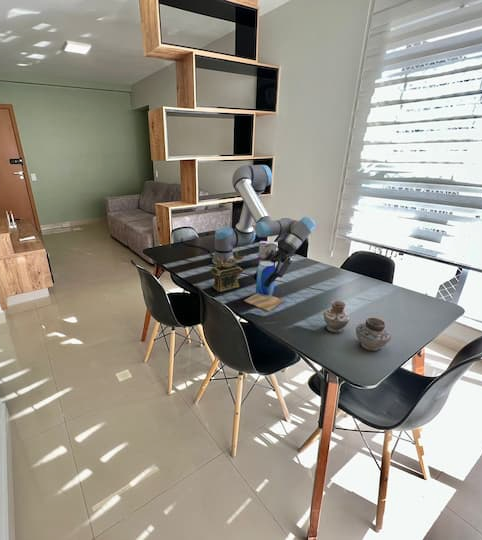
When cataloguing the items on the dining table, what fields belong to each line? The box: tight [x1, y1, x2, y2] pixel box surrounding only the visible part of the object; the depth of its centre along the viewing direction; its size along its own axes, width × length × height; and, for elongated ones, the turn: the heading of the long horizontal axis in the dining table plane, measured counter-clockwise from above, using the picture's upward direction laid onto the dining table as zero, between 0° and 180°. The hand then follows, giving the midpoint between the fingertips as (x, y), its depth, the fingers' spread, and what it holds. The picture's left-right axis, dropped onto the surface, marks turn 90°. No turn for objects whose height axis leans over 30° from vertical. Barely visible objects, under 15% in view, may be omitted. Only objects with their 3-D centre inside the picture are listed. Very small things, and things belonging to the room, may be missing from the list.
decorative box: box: [208, 250, 246, 292], centre depth 156 cm, size 20×10×20 cm, turn 117°
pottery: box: [323, 300, 392, 351], centre depth 111 cm, size 11×25×12 cm, turn 36°
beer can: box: [255, 261, 276, 297], centre depth 138 cm, size 8×8×16 cm
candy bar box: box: [257, 240, 279, 268], centre depth 183 cm, size 11×5×16 cm, turn 68°
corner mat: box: [243, 293, 285, 312], centre depth 142 cm, size 14×14×1 cm
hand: (259, 282), depth 137 cm, fingers closed on beer can, 8 cm apart
